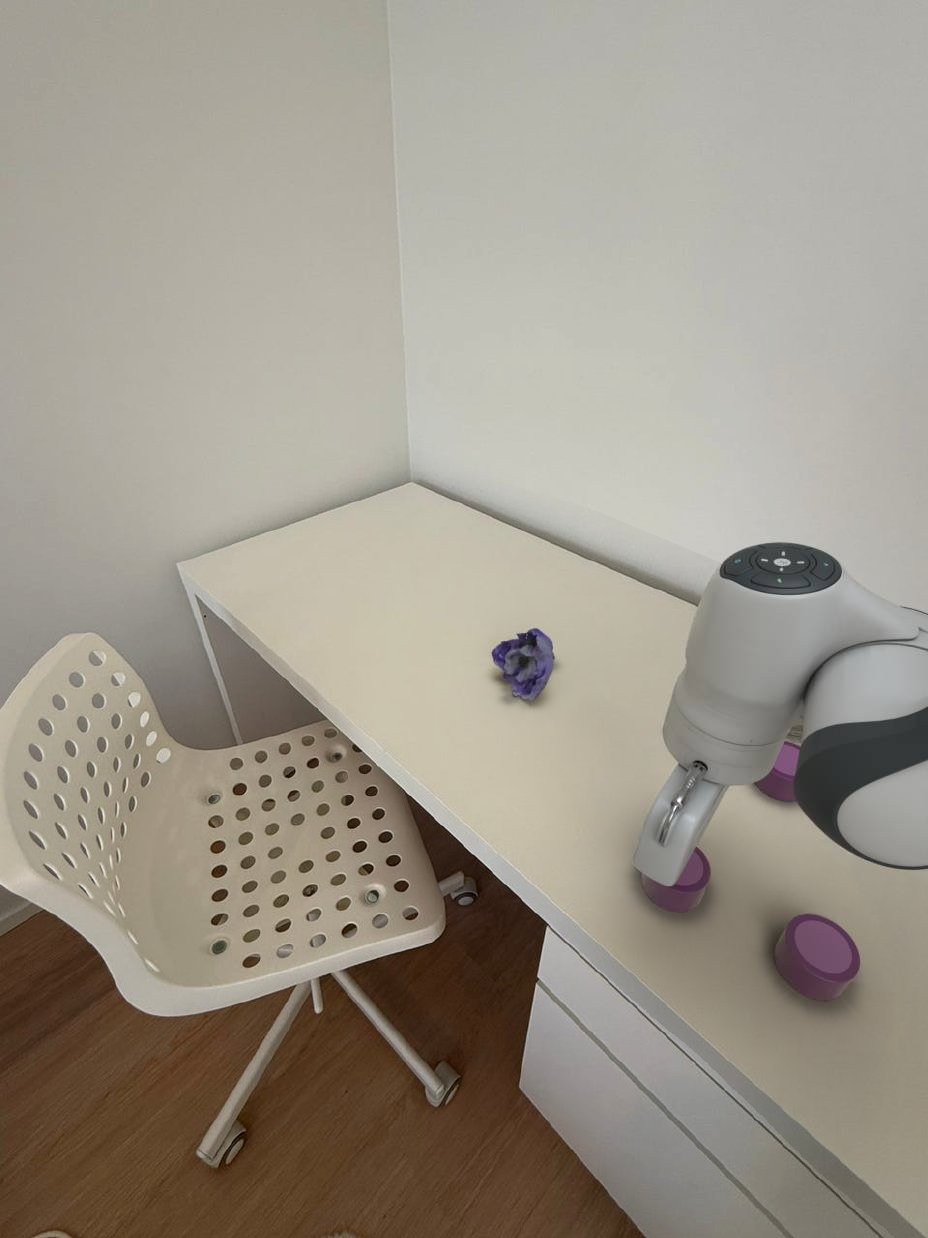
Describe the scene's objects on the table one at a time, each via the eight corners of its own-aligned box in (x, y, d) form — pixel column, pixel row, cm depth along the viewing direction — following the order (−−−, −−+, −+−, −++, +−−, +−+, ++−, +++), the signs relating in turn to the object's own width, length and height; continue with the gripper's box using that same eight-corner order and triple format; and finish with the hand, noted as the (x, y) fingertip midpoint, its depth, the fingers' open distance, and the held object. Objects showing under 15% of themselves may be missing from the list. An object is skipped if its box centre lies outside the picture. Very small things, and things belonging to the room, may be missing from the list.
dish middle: (798, 810, 72) (808, 789, 70) (744, 784, 75) (752, 763, 73) (812, 776, 76) (823, 755, 74) (760, 752, 79) (769, 732, 77)
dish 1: (711, 878, 66) (720, 858, 63) (688, 924, 62) (696, 904, 60) (656, 847, 69) (662, 826, 66) (631, 889, 65) (636, 868, 63)
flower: (537, 608, 92) (513, 618, 83) (583, 649, 90) (563, 664, 81) (499, 654, 95) (472, 668, 86) (541, 695, 93) (518, 714, 84)
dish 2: (852, 959, 59) (867, 939, 57) (836, 1016, 55) (852, 997, 53) (785, 920, 62) (796, 900, 60) (765, 972, 58) (777, 952, 56)
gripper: (713, 839, 44) (671, 940, 52) (798, 678, 57) (754, 779, 65) (628, 792, 47) (602, 894, 55) (727, 649, 60) (694, 750, 68)
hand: (685, 831), depth 60 cm, fingers open, 8 cm apart
